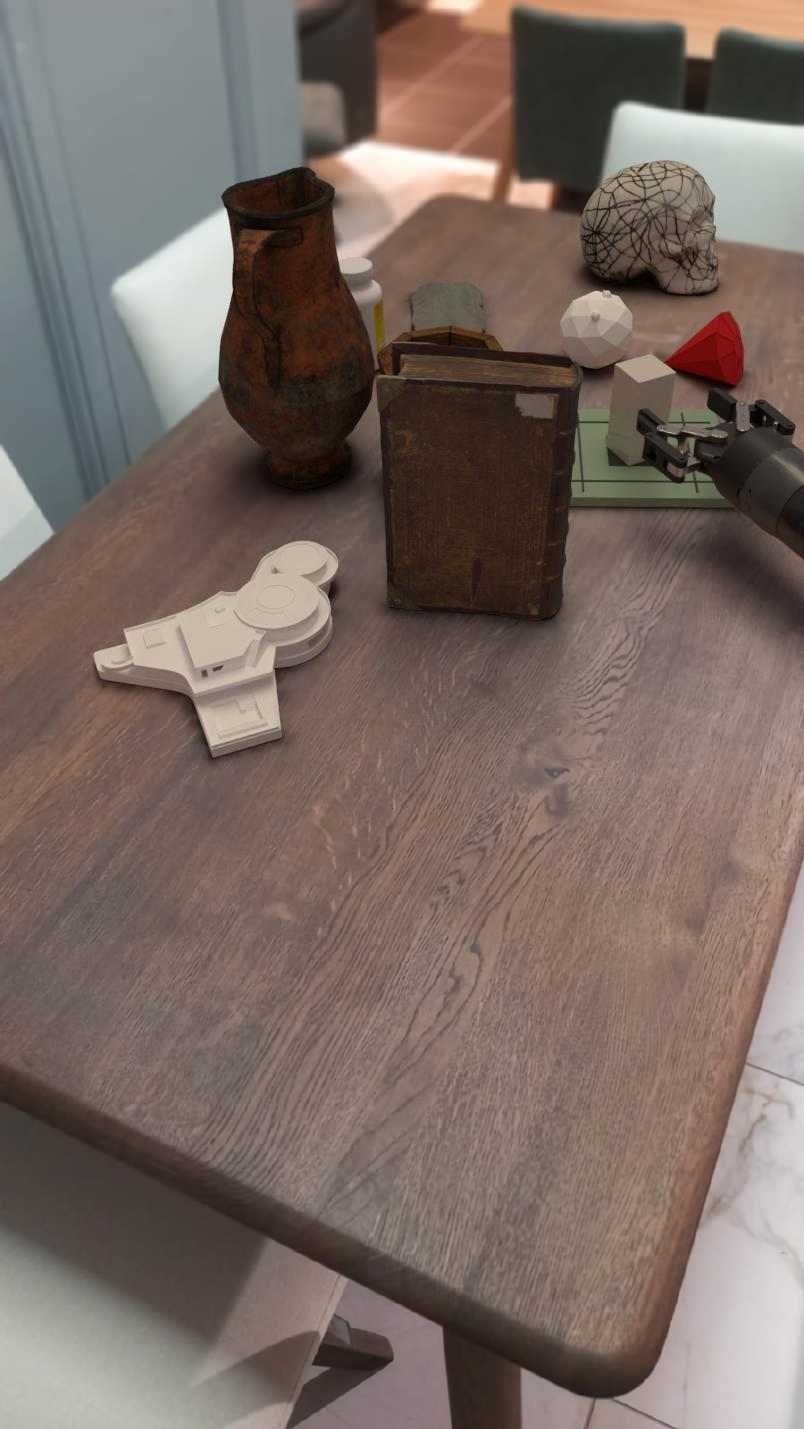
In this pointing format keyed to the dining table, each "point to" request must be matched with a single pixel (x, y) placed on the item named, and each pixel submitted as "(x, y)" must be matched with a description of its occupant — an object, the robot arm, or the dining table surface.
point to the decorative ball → (596, 329)
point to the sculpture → (653, 228)
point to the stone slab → (448, 306)
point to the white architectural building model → (235, 646)
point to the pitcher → (292, 330)
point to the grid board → (636, 469)
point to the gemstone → (713, 352)
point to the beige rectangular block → (637, 403)
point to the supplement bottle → (366, 299)
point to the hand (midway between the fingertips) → (675, 406)
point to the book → (477, 477)
